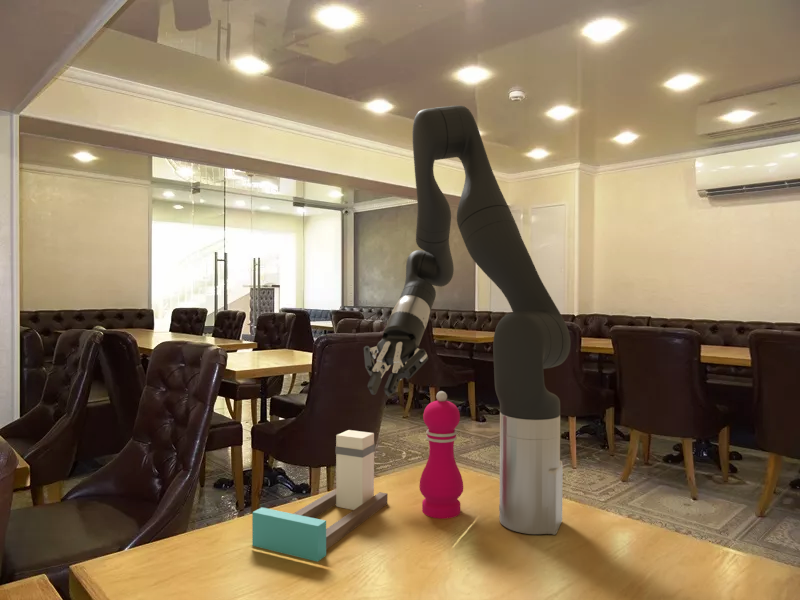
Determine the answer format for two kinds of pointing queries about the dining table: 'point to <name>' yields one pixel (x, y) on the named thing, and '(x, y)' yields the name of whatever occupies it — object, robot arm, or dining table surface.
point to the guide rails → (346, 522)
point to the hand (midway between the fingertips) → (379, 392)
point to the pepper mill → (441, 461)
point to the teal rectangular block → (289, 533)
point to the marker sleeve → (354, 468)
